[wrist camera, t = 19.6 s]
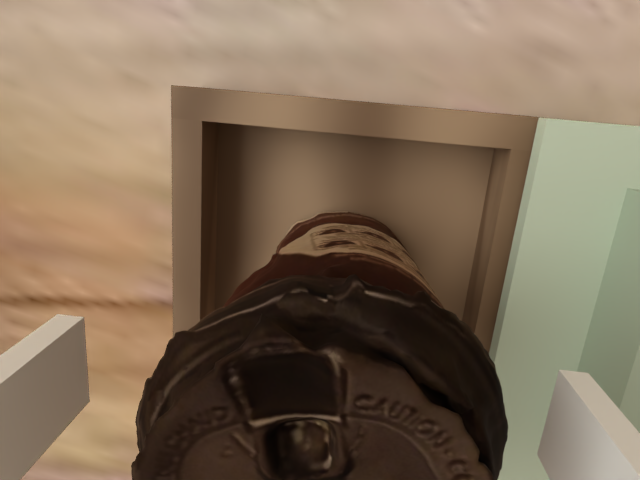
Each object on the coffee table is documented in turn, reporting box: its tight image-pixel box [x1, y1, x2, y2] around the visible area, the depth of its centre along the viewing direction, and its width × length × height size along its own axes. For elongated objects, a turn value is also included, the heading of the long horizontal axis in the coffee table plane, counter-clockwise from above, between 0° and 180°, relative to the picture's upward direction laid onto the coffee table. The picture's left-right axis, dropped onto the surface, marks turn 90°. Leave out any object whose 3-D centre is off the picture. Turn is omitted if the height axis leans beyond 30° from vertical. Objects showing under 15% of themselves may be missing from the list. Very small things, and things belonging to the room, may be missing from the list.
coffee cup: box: [131, 212, 508, 480], centre depth 15 cm, size 9×8×13 cm
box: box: [171, 85, 541, 353], centre depth 21 cm, size 14×15×3 cm
